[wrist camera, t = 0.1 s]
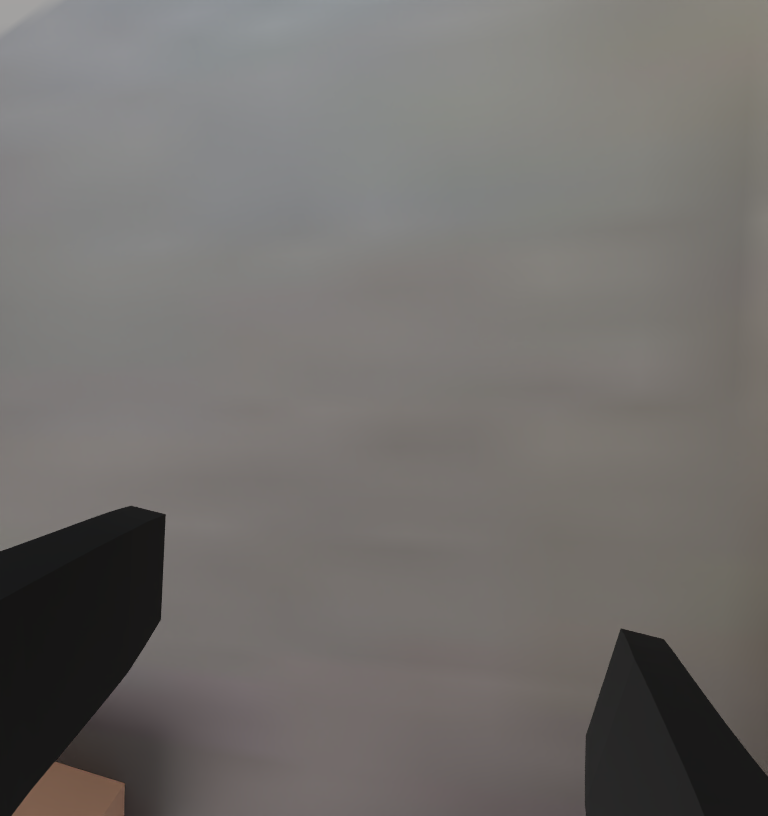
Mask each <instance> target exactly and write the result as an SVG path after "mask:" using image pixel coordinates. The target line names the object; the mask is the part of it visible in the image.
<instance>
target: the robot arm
mask: <svg viewBox="0 0 768 816" xmlns="http://www.w3.org/2000/svg"><path fill="white" fill-rule="evenodd" d="M165 516H166V514H162V513H158V512H154V511H150V510H146V509H142V508H138V507H134V506H129V507H125V508H121V509H118V510H115V511H111V512H108V513H105V514H102V515H100V516H97V517H94V518H91V519H88V520H86V521H83V522H80V523H77V524H75V525H72V526H69V527H67V528H64V529H61V530H58V531H56V532H53V533H50V534H47V535H45V536H42V537H39V538H36V539H34V540H31V541H28V542H25V543H23V544H20V545H17V546H14V547H12V548H9V549H6V550H3V551H0V816H12V814H13V813H14V812H15V811H16V809H17V808H18V807H19V805H20V804H21V803H22V801H23V800H24V799H25V797H26V796H27V795H28V794H29V792H30V791H31V790H32V789H33V787H34V786H35V785H36V784H37V783H38V781H39V780H40V779H41V778H42V776H43V775H44V774H45V773H46V772H47V770H48V769H49V768H50V767H51V766H52V764H53V763H54V762H55V761H56V760H57V758H58V757H59V756H60V755H61V754H62V752H63V751H64V750H65V749H66V748H67V746H68V745H69V744H70V743H71V741H72V740H73V739H74V738H75V737H76V735H77V734H78V733H79V732H80V731H81V729H82V728H83V727H84V726H85V725H86V723H87V722H88V721H89V720H90V719H91V717H92V716H93V715H94V714H95V713H96V711H97V710H98V709H99V708H100V706H101V705H102V704H103V703H104V701H105V700H106V699H107V698H108V697H109V695H110V694H111V693H112V692H113V690H114V689H115V688H116V687H117V686H118V684H119V683H120V682H121V680H122V679H123V678H124V677H125V675H126V674H127V673H128V671H129V670H130V668H131V667H132V665H133V664H134V662H135V661H136V659H137V658H138V656H139V654H140V653H141V651H142V650H143V648H144V647H145V645H146V643H147V642H148V640H149V638H150V637H151V635H152V633H153V632H154V630H155V628H156V627H157V625H158V623H159V622H160V620H161V603H162V582H163V560H164V538H165ZM585 808H586V816H768V777H767V775H766V774H765V773H764V772H763V770H762V769H761V768H760V767H759V765H758V764H757V763H756V762H755V760H754V759H753V758H752V757H751V755H750V754H749V753H748V752H747V750H746V749H745V748H744V747H743V745H742V744H741V743H740V741H739V740H738V739H737V737H736V736H735V735H734V734H733V732H732V731H731V730H730V728H729V727H728V726H727V724H726V723H725V722H724V720H723V719H722V718H721V716H720V715H719V714H718V712H717V711H716V710H715V708H714V707H713V706H712V704H711V703H710V702H709V700H708V699H707V697H706V696H705V695H704V693H703V692H702V691H701V689H700V688H699V686H698V685H697V684H696V682H695V681H694V680H693V678H692V677H691V675H690V674H689V673H688V671H687V670H686V668H685V667H684V666H683V664H682V663H681V662H680V660H679V659H678V657H677V656H676V655H675V653H674V652H673V651H672V649H671V648H670V647H669V645H668V644H667V643H666V642H665V640H664V639H661V638H657V637H653V636H649V635H645V634H641V633H637V632H633V631H629V630H625V629H621V630H620V633H619V636H618V639H617V642H616V645H615V648H614V651H613V654H612V657H611V660H610V663H609V667H608V670H607V673H606V676H605V679H604V682H603V685H602V688H601V691H600V694H599V697H598V700H597V703H596V707H595V710H594V713H593V716H592V719H591V722H590V725H589V728H588V731H587V734H586V756H585Z"/></svg>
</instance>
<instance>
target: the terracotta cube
mask: <svg viewBox="0 0 768 816" xmlns="http://www.w3.org/2000/svg"><path fill="white" fill-rule="evenodd" d="M124 799H125V783H122V782H119V781H116V780H113V779H109V778H106V777H103V776H100V775H96V774H93V773H90V772H87V771H84V770H80V769H77V768H74V767H71V766H68V765H64V764H61V763H58V762H54V763H53V764H52V766H51V767H50V768H49V769H48V770H47V772H46V773H45V774H44V775H43V776H42V778H41V779H40V780H39V781H38V783H37V784H36V785H35V786H34V787H33V789H32V790H31V791H30V792H29V794H28V795H27V796H26V797H25V799H24V800H23V801H22V803H21V804H20V805H19V807H18V808H17V809H16V811H15V812H14V813H13V814H12V816H124Z"/></svg>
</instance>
